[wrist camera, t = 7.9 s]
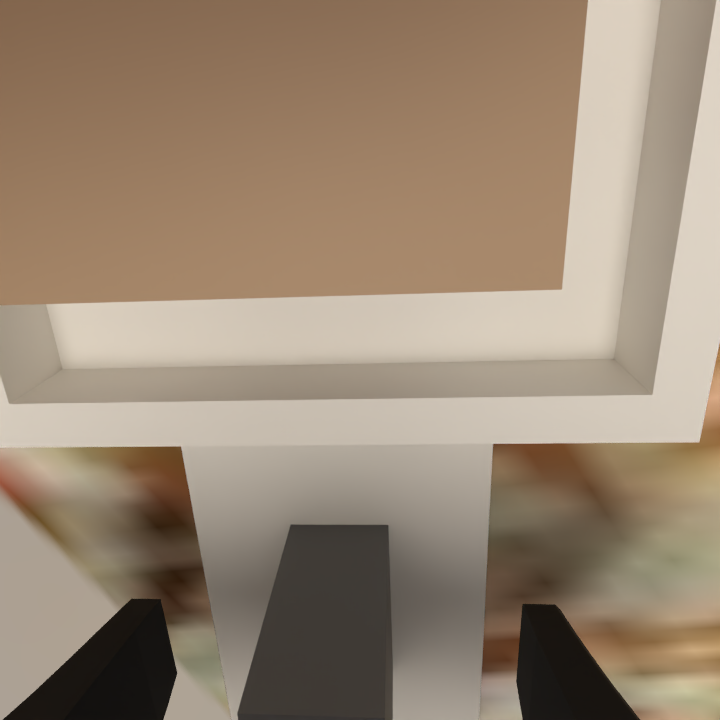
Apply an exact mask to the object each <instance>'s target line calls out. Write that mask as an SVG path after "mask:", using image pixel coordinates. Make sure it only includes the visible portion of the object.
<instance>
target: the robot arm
mask: <svg viewBox="0 0 720 720" xmlns="http://www.w3.org/2000/svg"><path fill="white" fill-rule="evenodd" d="M176 675H177V670H176V666H175V661H174V657H173V653H172V648H171V644H170V639H169V635H168V630H167V626H166V622H165V617H164V613H163V608H162V604H161V599H131V600H130V601H129V602H128V603H127V604H126V605H125V606H123V607H122V608H121V609H120V610H119V611H118V612H117V613H116V614H115V615H114V616H113V617H112V618H111V619H110V620H109V621H108V622H107V623H106V624H105V625H104V626H103V627H102V628H101V629H100V630H99V631H97V632H96V633H95V634H94V635H93V636H92V637H91V638H90V639H89V640H88V641H87V642H86V643H85V644H84V645H83V646H82V647H81V648H80V649H79V650H78V651H77V652H76V653H75V654H74V655H73V656H72V657H71V658H70V659H69V660H68V661H66V662H65V663H64V664H63V665H62V666H61V667H60V668H59V669H58V670H57V671H56V672H55V673H54V674H53V675H52V676H51V677H49V679H47V680H46V681H45V682H44V683H43V684H42V685H41V686H40V687H39V688H38V689H37V690H36V691H35V692H33V693H32V694H31V695H30V696H29V697H28V698H27V699H26V700H25V701H23V702H22V703H21V704H20V705H19V706H18V707H17V708H16V709H15V710H13V711H12V712H11V713H10V714H9V715H8V716H7V717H5V718H4V719H3V720H163V719H164V715H165V712H166V709H167V706H168V703H169V699H170V696H171V693H172V689H173V686H174V682H175V679H176ZM516 682H517V688H518V694H519V700H520V706H521V712H522V717H523V720H640V719H639V718H638V717H637V715H636V714H635V713H634V711H633V710H632V709H631V708H630V706H629V705H628V704H627V702H626V701H625V700H624V699H623V697H622V696H621V695H620V693H619V692H618V691H617V690H616V688H615V687H614V686H613V684H612V683H611V682H610V680H609V679H608V678H607V676H606V675H605V674H604V672H603V671H602V669H601V668H600V667H599V665H598V664H597V663H596V661H595V660H594V658H593V657H592V656H591V654H590V653H589V651H588V650H587V649H586V647H585V646H584V644H583V643H582V641H581V640H580V638H579V637H578V636H577V634H576V633H575V631H574V630H573V628H572V627H571V625H570V624H569V622H568V621H567V619H566V618H565V616H564V615H563V613H562V611H561V610H560V609H559V608H558V607H557V606H556V605H546V604H523V606H522V618H521V631H520V643H519V655H518V668H517V680H516Z"/></svg>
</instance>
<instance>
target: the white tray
mask: <svg viewBox="0 0 720 720" xmlns="http://www.w3.org/2000/svg"><path fill="white" fill-rule="evenodd" d="M719 343H720V0H588V6H587V17H586V28H585V39H584V51H583V62H582V73H581V84H580V95H579V106H578V117H577V128H576V139H575V150H574V161H573V173H572V184H571V195H570V206H569V217H568V228H567V239H566V250H565V261H564V272H563V283H562V290H530V291H495V292H459V293H424V294H388V295H353V296H317V297H282V298H247V299H211V300H176V301H140V302H105V303H70V304H34V305H0V448H27V447H153V446H181V449H182V455H183V460H184V465H185V471H186V476H187V482H188V487H189V492H190V498H191V503H192V509H193V514H194V520H195V525H196V530H197V536H198V541H199V547H200V552H201V558H202V563H203V568H204V574H205V579H206V585H207V590H208V596H209V601H210V606H211V612H212V617H213V623H214V628H215V633H216V639H217V644H218V650H219V655H220V661H221V666H222V671H223V677H224V682H225V688H226V693H227V699H228V704H229V709H230V715H231V720H479V718H480V698H481V677H482V657H483V637H484V616H485V596H486V575H487V555H488V535H489V514H490V494H491V473H492V453H493V444H534V443H661V442H699V441H700V436H701V431H702V426H703V421H704V417H705V412H706V407H707V402H708V397H709V392H710V387H711V382H712V377H713V372H714V367H715V362H716V357H717V352H718V348H719Z"/></svg>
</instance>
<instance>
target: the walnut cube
mask: <svg viewBox="0 0 720 720" xmlns="http://www.w3.org/2000/svg"><path fill="white" fill-rule="evenodd" d="M587 6H588V0H0V305H34V304H70V303H105V302H140V301H176V300H211V299H247V298H282V297H317V296H353V295H388V294H424V293H459V292H495V291H530V290H562V283H563V272H564V261H565V250H566V239H567V228H568V217H569V206H570V195H571V184H572V173H573V161H574V150H575V139H576V128H577V117H578V106H579V95H580V84H581V73H582V62H583V51H584V39H585V28H586V17H587Z"/></svg>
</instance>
